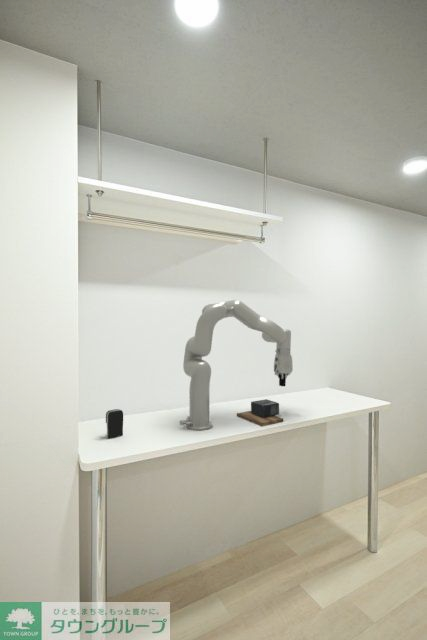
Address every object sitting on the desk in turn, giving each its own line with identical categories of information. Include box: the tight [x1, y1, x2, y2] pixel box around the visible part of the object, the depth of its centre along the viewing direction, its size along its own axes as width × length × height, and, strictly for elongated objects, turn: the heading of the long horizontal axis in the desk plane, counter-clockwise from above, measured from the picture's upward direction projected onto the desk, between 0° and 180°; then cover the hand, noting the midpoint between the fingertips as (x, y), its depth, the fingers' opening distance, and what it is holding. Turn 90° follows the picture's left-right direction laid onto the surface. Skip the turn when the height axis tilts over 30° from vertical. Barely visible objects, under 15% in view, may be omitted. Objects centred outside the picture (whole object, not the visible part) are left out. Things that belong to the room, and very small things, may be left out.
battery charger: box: [105, 408, 124, 439], centre depth 140 cm, size 7×4×11 cm, turn 130°
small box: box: [250, 399, 280, 417], centre depth 168 cm, size 11×6×10 cm
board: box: [236, 410, 284, 427], centre depth 165 cm, size 14×20×2 cm
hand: (282, 385), depth 174 cm, fingers closed
